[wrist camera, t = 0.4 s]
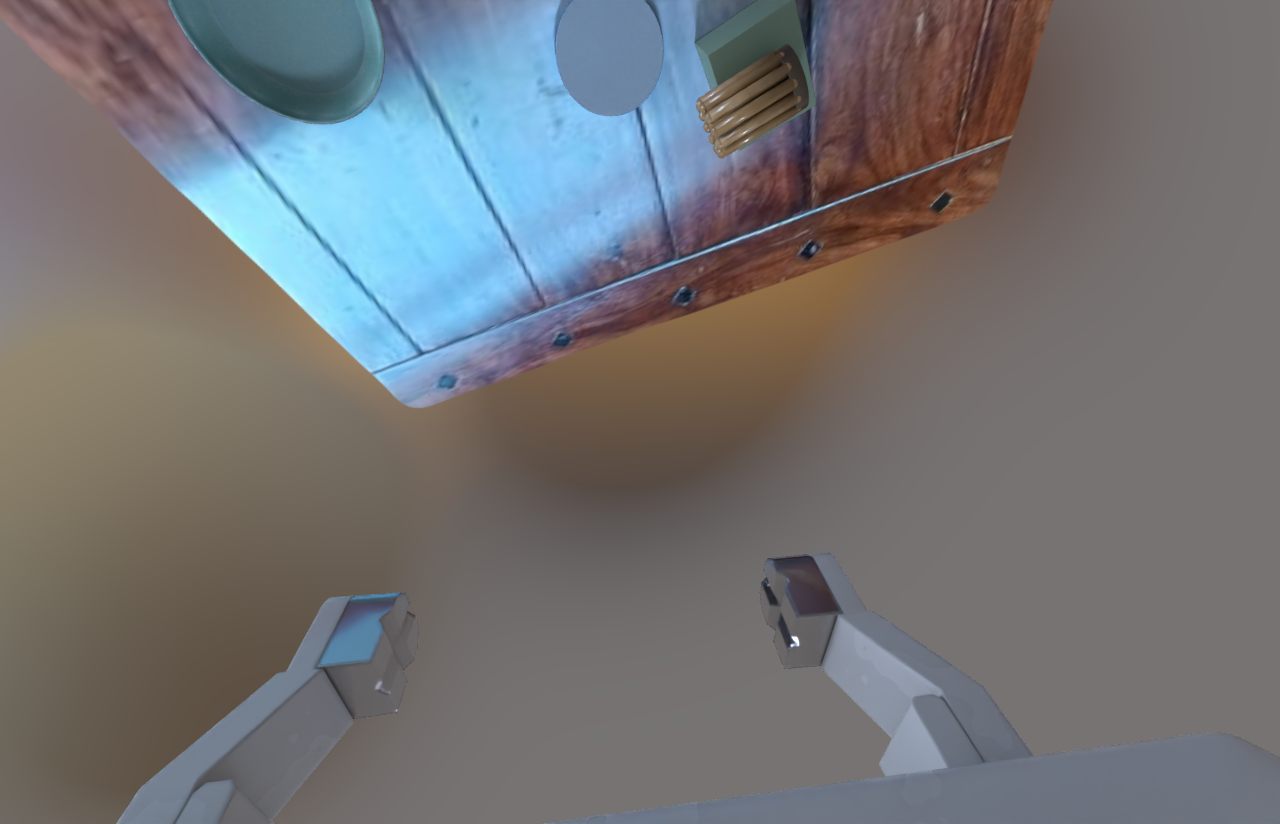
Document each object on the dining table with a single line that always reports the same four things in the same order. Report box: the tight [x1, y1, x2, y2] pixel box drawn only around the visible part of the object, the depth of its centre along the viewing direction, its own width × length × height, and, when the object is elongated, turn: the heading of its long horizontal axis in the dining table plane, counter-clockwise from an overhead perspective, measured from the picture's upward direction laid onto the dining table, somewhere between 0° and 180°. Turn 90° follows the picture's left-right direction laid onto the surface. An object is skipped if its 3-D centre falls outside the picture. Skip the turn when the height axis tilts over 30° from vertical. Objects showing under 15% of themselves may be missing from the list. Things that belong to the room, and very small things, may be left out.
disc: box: [555, 0, 663, 116], centre depth 44 cm, size 10×10×1 cm
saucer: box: [168, 0, 385, 124], centre depth 38 cm, size 15×15×3 cm
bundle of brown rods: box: [696, 44, 809, 158], centre depth 42 cm, size 8×5×5 cm, turn 118°
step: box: [695, 0, 816, 150], centre depth 45 cm, size 8×9×5 cm
